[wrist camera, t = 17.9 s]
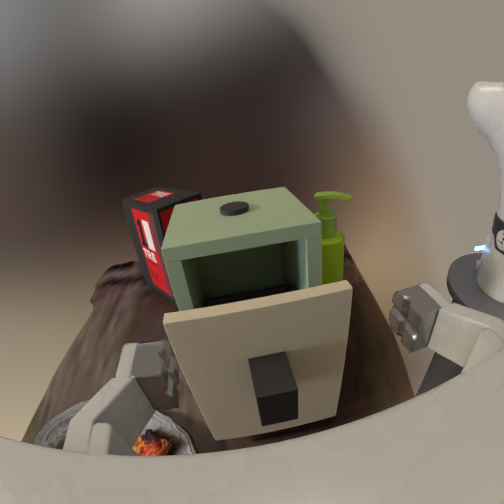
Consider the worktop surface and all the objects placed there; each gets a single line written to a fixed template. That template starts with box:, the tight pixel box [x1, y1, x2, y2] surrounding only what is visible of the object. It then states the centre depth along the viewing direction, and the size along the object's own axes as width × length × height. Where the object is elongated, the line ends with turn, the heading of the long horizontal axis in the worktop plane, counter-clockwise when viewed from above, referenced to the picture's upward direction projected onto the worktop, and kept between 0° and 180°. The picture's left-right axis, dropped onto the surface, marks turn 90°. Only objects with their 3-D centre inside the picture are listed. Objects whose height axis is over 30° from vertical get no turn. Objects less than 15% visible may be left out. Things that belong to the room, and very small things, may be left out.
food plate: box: [32, 400, 199, 456], centre depth 22 cm, size 25×23×4 cm
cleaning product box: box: [122, 187, 202, 306], centre depth 58 cm, size 16×9×20 cm, turn 45°
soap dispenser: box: [314, 191, 351, 285], centre depth 46 cm, size 6×7×20 cm
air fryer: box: [161, 187, 322, 311], centre depth 37 cm, size 14×15×23 cm
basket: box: [163, 280, 353, 440], centre depth 28 cm, size 17×14×18 cm
